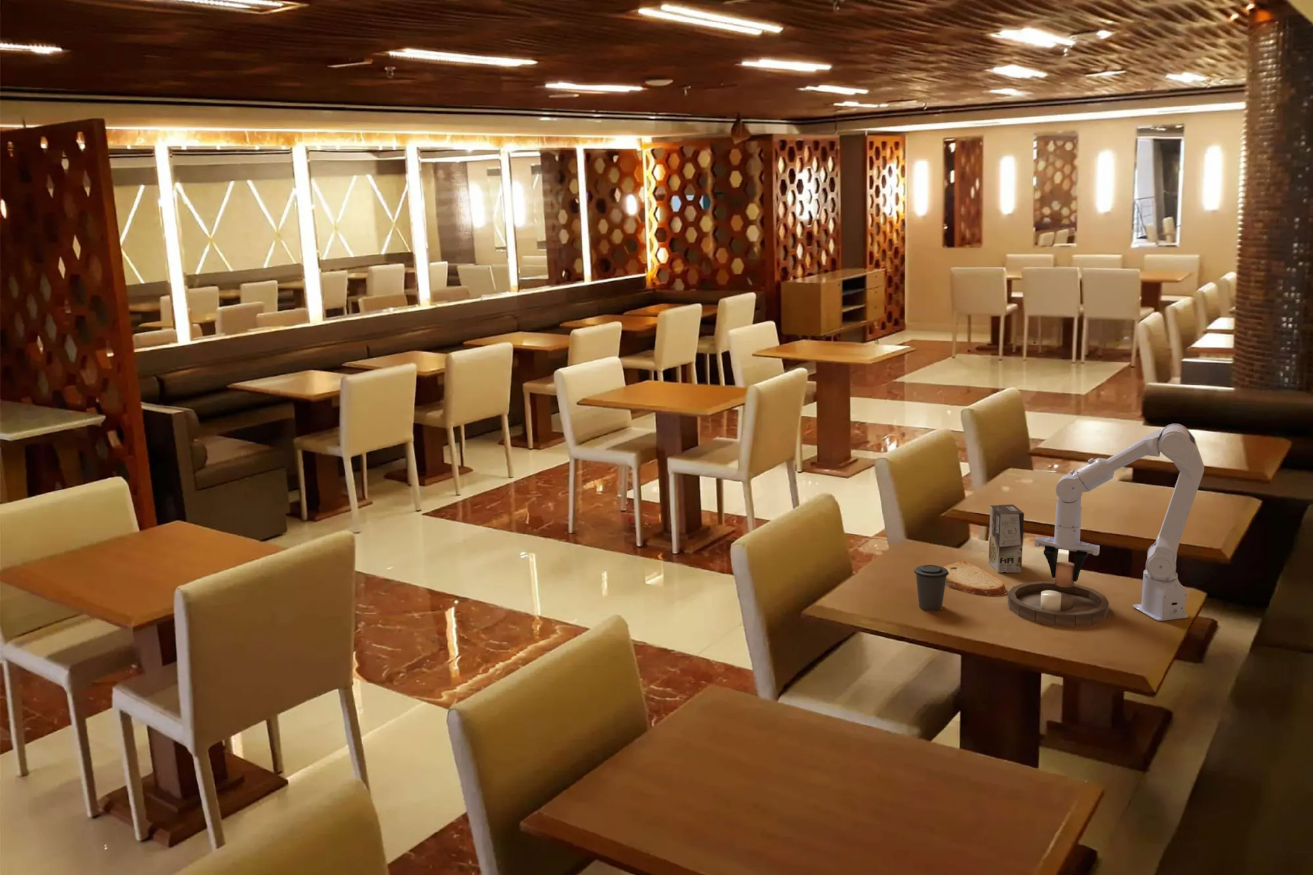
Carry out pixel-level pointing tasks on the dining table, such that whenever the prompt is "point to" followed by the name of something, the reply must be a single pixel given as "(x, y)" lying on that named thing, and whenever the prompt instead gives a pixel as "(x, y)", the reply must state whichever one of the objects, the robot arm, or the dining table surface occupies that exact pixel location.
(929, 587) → the coffee cup
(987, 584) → the bread slice
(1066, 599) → the groove tray
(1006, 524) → the coffee box
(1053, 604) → the translucent white cylinder
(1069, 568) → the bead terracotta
